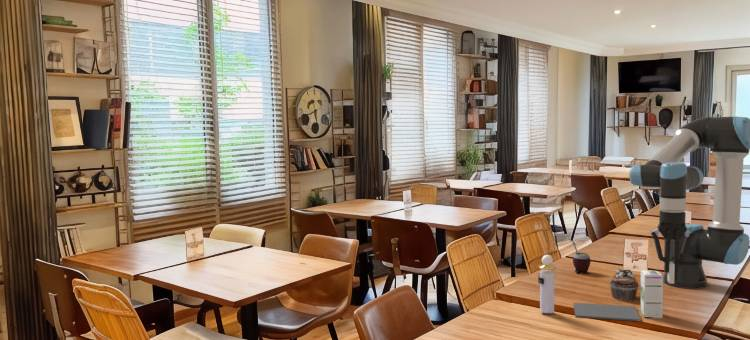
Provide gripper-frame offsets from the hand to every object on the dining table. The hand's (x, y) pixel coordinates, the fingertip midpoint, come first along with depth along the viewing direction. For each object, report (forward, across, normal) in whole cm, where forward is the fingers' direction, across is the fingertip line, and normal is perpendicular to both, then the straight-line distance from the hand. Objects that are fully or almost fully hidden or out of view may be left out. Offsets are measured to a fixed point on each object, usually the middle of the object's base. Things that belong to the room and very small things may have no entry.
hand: (670, 282), depth 193 cm
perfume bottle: (+12, +39, +5) cm, 41 cm away
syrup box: (+12, +6, 0) cm, 13 cm away
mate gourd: (+12, +24, -52) cm, 59 cm away
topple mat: (+12, +20, 0) cm, 23 cm away
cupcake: (+12, +12, -19) cm, 25 cm away
